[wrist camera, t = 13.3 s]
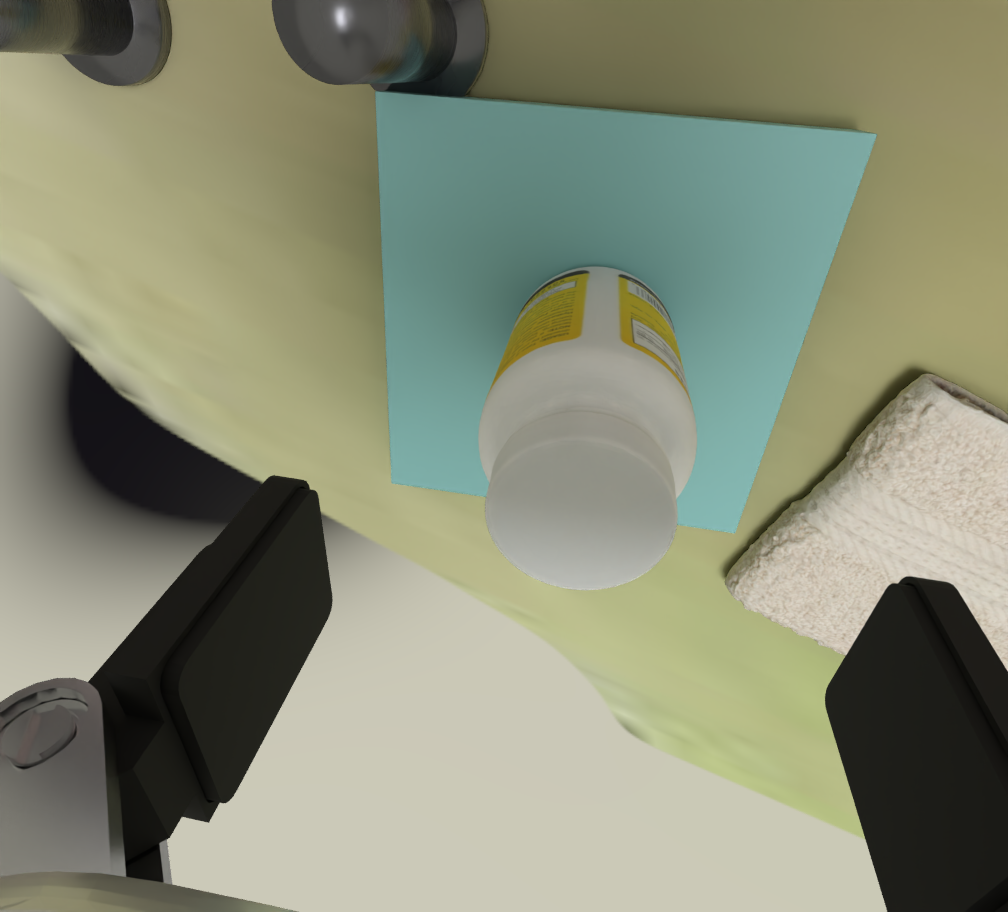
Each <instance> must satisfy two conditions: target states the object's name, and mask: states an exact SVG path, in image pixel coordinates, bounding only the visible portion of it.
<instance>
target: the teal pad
mask: <svg viewBox="0 0 1008 912" xmlns="http://www.w3.org/2000/svg"><path fill="white" fill-rule="evenodd" d="M375 96H376V120H377V144H378V169H379V193H380V217H381V241H382V265H383V289H384V313H385V337H386V361H387V385H388V409H389V433H390V457H391V481H392V483H393V484H400V485H407V486H414V487H421V488H428V489H435V490H441V491H448V492H455V493H462V494H469V495H476V496H483V497H486V495H487V491H488V487H489V481H488V479H487V477H486V475H485V472H484V470H483V467H482V464H481V460H480V453H479V442H478V434H479V423H480V419H481V415H482V410H483V407H484V404H485V401H486V398H487V395H488V393H489V391H490V388H491V385H492V383H493V381H494V378H495V375H496V372H497V370H498V368H499V365H500V362H501V360H502V358H503V355H504V352H505V350H506V347H507V344H508V341H509V338H510V335H511V332H512V330H513V327H514V324H515V321H516V319H517V317H518V315H519V313H520V311H521V309H522V307H523V306H524V304H525V303H526V301H527V300H528V299H529V297H530V296H531V295H532V294H533V293H534V292H535V291H536V290H537V289H538V288H539V287H540V286H541V285H542V284H544V283H545V282H546V281H548V280H549V279H551V278H553V277H555V276H557V275H559V274H561V273H563V272H566V271H569V270H572V269H576V268H582V267H608V268H613V269H617V270H621V271H624V272H626V273H628V274H631V275H633V276H635V277H636V278H638V279H640V280H641V281H643V282H644V283H645V284H646V285H648V286H649V287H650V288H651V289H652V290H653V291H654V292H655V293H656V294H657V296H658V297H659V298H660V299H661V301H662V302H663V304H664V306H665V308H666V310H667V312H668V314H669V316H670V318H671V321H672V324H673V327H674V331H675V336H676V340H677V344H678V348H679V352H680V356H681V361H682V365H683V369H684V374H685V378H686V382H687V386H688V391H689V395H690V399H691V403H692V407H693V411H694V416H695V421H696V431H697V449H696V457H695V462H694V466H693V469H692V472H691V475H690V477H689V479H688V482H687V484H686V485H685V487H684V489H683V491H682V492H681V493H680V495H679V496H678V497H677V499H676V501H677V513H678V520H677V525H682V526H689V527H696V528H702V529H709V530H716V531H723V532H730V533H735V532H736V529H737V526H738V523H739V521H740V518H741V515H742V512H743V509H744V507H745V504H746V501H747V498H748V495H749V492H750V490H751V487H752V484H753V481H754V478H755V476H756V473H757V470H758V467H759V464H760V462H761V459H762V456H763V453H764V450H765V448H766V445H767V442H768V439H769V436H770V434H771V431H772V428H773V425H774V422H775V420H776V417H777V414H778V411H779V408H780V406H781V403H782V400H783V397H784V394H785V392H786V389H787V386H788V383H789V380H790V378H791V375H792V372H793V369H794V366H795V364H796V361H797V358H798V355H799V352H800V349H801V347H802V344H803V341H804V338H805V335H806V333H807V330H808V327H809V324H810V321H811V319H812V316H813V313H814V310H815V307H816V305H817V302H818V299H819V296H820V293H821V291H822V288H823V285H824V282H825V279H826V277H827V274H828V271H829V268H830V265H831V263H832V260H833V257H834V254H835V251H836V249H837V246H838V243H839V240H840V237H841V235H842V232H843V229H844V226H845V223H846V221H847V218H848V215H849V212H850V209H851V206H852V204H853V201H854V198H855V195H856V192H857V190H858V187H859V184H860V181H861V178H862V176H863V173H864V170H865V167H866V164H867V162H868V159H869V156H870V153H871V150H872V148H873V145H874V142H875V139H876V136H877V134H874V133H870V132H865V131H861V130H853V129H841V128H829V127H818V126H806V125H794V124H782V123H771V122H759V121H747V120H735V119H724V118H712V117H700V116H688V115H677V114H665V113H653V112H641V111H630V110H618V109H606V108H594V107H583V106H571V105H559V104H547V103H535V102H524V101H512V100H500V99H488V98H477V97H465V96H463V97H454V96H442V95H430V94H419V93H407V92H395V91H375Z"/></svg>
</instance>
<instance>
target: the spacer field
mask: <svg viewBox="0 0 1008 912" xmlns="http://www.w3.org/2000/svg"><path fill="white" fill-rule="evenodd" d="M272 10H273V16H274V21H275V25H276V29H277V32H278V34H279V37H280V39H281V41H282V43H283V46H284V47H285V49H286V51H287V52H288V54H289V55H290V57H291V58H292V59H293V61H294V62H295V63H296V64H297V65H298V66H299V67H300V68H301V69H302V70H303V71H305V72H306V73H307V74H308V75H310V76H312V77H313V78H315V79H317V80H319V81H322V82H325V83H328V84H334V85H346V84H370V85H371V86H372V87H373V88H374V89H375V90H376V91H395V92H407V93H419V94H430V95H442V96H454V97H463V96H465V95H466V94H467V93H468V92H469V91H470V89H471V88H472V87H473V86H474V84H475V82H476V81H477V79H478V77H479V75H480V73H481V71H482V68H483V65H484V62H485V59H486V54H487V49H488V21H487V15H486V10H485V6H484V3H483V0H272ZM170 44H171V23H170V16H169V11H168V7H167V3H166V0H0V52H18V53H45V54H62V55H63V56H64V57H65V58H66V59H67V60H68V61H69V62H70V63H71V64H72V65H73V66H74V67H75V68H76V69H78V70H79V71H80V72H82V73H83V74H85V75H86V76H88V77H90V78H91V79H94V80H96V81H98V82H101V83H104V84H107V85H113V86H131V85H139V84H143V83H145V82H148V81H149V80H151V79H153V78H154V77H155V76H156V75H157V74H158V73H159V72H160V70H161V69H162V68H163V66H164V64H165V62H166V60H167V57H168V54H169V50H170Z"/></svg>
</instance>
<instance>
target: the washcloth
mask: <svg viewBox="0 0 1008 912" xmlns="http://www.w3.org/2000/svg"><path fill="white" fill-rule="evenodd" d="M846 454H847V456H846V457H845V459H844V460H843V461H841V462H840V463H839V465H838V466H837V467H836V468H835V469H834V470H832V471H831V472H830V473H829V474H828V475H827V476H826V477H825V478H824V480H823V481H821V482H819V483H818V484H817V485H816V486H815V487H814V488H813V489H812V492H810V493H809V494H808V495H807V496H805V498H804V499H801V500H796V501H794V502H792V503H791V505H790V507H789V508H788V509H787V510H785V511H784V512H782V514H781V516H780V517H779V518H778V519H777V520H776V521H775V522H774V523H773V524H771V525H770V526H768V529H767V530H766V531H765V532H764V533H763V534H761V536H760V538H758V539H757V540H756V541H755V543H754V544H751V545H750V547H749V549H748V550H747V551H746V552H744V554H743V555H742V556H741V558H740V559H738V561H737V562H736V564H735V565H733V566H732V568H731V569H730V571H729V572H728V575H727V577H726V579H725V585H726V586H727V589H728V590H729V591H730V593H731V595H732V596H733V597H734V598H735V599H736V600H738V601H741V602H742V603H743V605H744V608H745V609H747V610H752V611H754V612H759V613H761V614H762V615H763V616H764V617H766V618H768V619H770V620H771V621H773V622H776V623H778V624H780V625H781V626H783V627H789V628H791V629H792V631H796V633H797V634H798V635H801V636H807V637H810V638H813V639H814V640H815V641H817V643H818V644H819V645H821V646H825V647H829V648H831V649H833V650H834V651H836V652H838V653H839V654H843V655H845V656H846V655H847V653H848V651H849V650H850V648H851V646H852V645H853V643H854V641H855V640H856V638H857V636H858V635H859V633H860V631H861V630H862V628H863V626H864V625H865V623H866V621H867V620H868V618H869V616H870V615H871V613H872V611H873V610H874V608H875V606H876V605H877V603H878V601H879V600H880V598H881V596H882V594H883V593H884V591H885V589H886V588H887V587H888V586H889V585H890V584H892V583H897V584H898V583H899V582H900V580H901V579H902V578H904V577H906V576H913V577H919V578H925V579H932V580H938V581H944V582H949V583H951V584H953V585H954V586H955V588H956V589H957V590H958V591H959V593H960V595H961V596H962V598H963V599H964V601H965V603H966V604H967V606H968V608H969V609H970V611H971V612H972V614H973V616H974V617H975V619H976V621H977V622H978V624H979V625H980V627H981V629H982V630H983V632H984V634H985V635H986V637H987V638H988V640H989V642H990V643H991V645H992V647H993V648H994V650H995V651H996V653H997V655H998V656H999V658H1000V660H1001V661H1002V663H1003V664H1004V666H1005V668H1006V669H1007V671H1008V414H1006V413H1005V412H1004V411H1003V410H1002V409H1000V408H998V407H996V406H994V405H993V404H991V403H989V402H986V401H985V400H983V399H982V398H980V397H978V396H976V395H974V394H973V393H970V392H969V391H967V390H966V389H964V388H962V387H960V386H958V385H956V384H954V383H952V382H949V381H946V380H944V379H943V378H940V377H938V376H936V375H933V374H923V375H921V376H920V377H919V378H918V379H916V380H915V381H913V382H912V383H910V384H909V385H908V386H907V387H906V388H905V389H903V390H902V391H901V392H900V393H899V394H898V395H897V397H896V398H895V399H893V400H891V401H890V403H889V404H888V405H887V406H886V407H885V408H884V409H883V410H882V411H881V412H880V413H879V414H878V415H877V416H876V417H875V419H874V420H873V421H872V422H871V423H870V424H868V425H867V427H866V428H865V430H864V431H863V432H862V433H861V434H860V435H859V436H858V437H857V438H856V440H855V441H854V442H853V444H852V445H851V447H850V449H849V452H847V453H846Z"/></svg>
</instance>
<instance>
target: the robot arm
mask: <svg viewBox="0 0 1008 912" xmlns="http://www.w3.org/2000/svg"><path fill="white" fill-rule="evenodd" d="M331 607H332V591H331V584H330V577H329V570H328V562H327V555H326V549H325V541H324V534H323V527H322V520H321V512H320V505H319V498H318V494H317V492H316V491H314V490H310V488H309V485H308V483H307V482H306V481H304V480H300V479H294V478H287V477H281V476H275V475H273V476H270V477H269V478H268V479H267V480H266V481H265V482H264V483H263V484H262V485H261V487H260V488H259V489H258V490H257V491H256V493H255V494H254V495H253V496H252V497H251V498H250V499H249V501H248V502H247V503H246V504H245V505H244V507H243V508H242V509H241V510H240V511H239V512H238V514H237V515H236V516H235V517H234V518H233V520H232V521H231V522H230V523H229V524H228V525H227V527H226V528H225V529H224V530H223V531H222V532H221V534H220V535H219V536H218V537H217V538H216V539H215V541H214V542H213V543H212V544H210V545H208V546H206V547H205V548H204V549H203V550H202V551H201V552H199V554H198V555H197V556H196V557H195V558H194V559H193V561H192V562H191V563H190V564H189V565H188V566H187V568H186V569H185V570H184V571H183V572H182V573H181V574H180V576H179V577H178V578H177V579H176V580H175V582H174V583H173V584H172V585H171V586H170V587H169V588H168V590H167V591H166V592H165V593H164V594H163V596H162V597H161V598H160V599H159V600H158V601H157V602H156V604H155V605H154V606H153V607H152V608H151V609H150V611H149V612H148V613H147V614H146V615H145V616H144V618H143V619H142V620H141V621H140V622H139V624H138V625H137V626H136V627H135V628H134V629H133V631H132V632H131V633H130V634H129V635H128V636H127V637H126V639H125V640H124V641H123V642H122V643H121V644H120V646H119V647H118V648H117V649H116V650H115V651H114V653H113V654H112V655H111V656H110V657H109V658H108V659H107V661H106V662H105V663H104V664H103V665H102V667H101V668H100V669H99V670H98V671H97V672H96V674H95V675H94V676H93V677H92V678H91V679H90V680H89V682H86V681H83V680H79V679H76V678H56V679H51V680H48V681H44V682H39V683H36V684H33V685H31V686H29V687H26V688H24V689H22V690H19V691H17V692H15V693H14V694H13V695H11V696H9V697H8V698H6V699H5V700H3V701H2V702H0V912H297V911H293V910H288V909H283V908H280V907H275V906H271V905H266V904H262V903H256V902H252V901H247V900H243V899H238V898H233V897H228V896H223V895H219V894H214V893H209V892H204V891H200V890H195V889H190V888H185V887H181V886H176V885H172V878H171V870H170V861H169V854H168V845H167V839H168V838H170V836H171V834H172V833H173V831H174V829H175V827H176V826H177V824H178V822H179V821H180V819H181V817H186V818H191V819H195V820H200V821H204V822H209V821H210V819H211V817H212V816H213V814H214V812H215V810H216V808H217V806H218V804H219V803H227V802H228V801H229V800H230V799H231V798H232V797H233V796H234V794H235V792H236V790H237V789H238V787H239V785H240V783H241V782H242V780H243V777H244V776H245V774H246V772H247V770H248V768H249V766H250V764H251V763H252V761H253V759H254V757H255V755H256V753H257V751H258V749H259V748H260V745H261V744H262V742H263V740H264V738H265V736H266V734H267V732H268V730H269V729H270V727H271V725H272V723H273V721H274V719H275V717H276V715H277V714H278V712H279V710H280V708H281V706H282V704H283V702H284V700H285V699H286V697H287V695H288V693H289V691H290V689H291V687H292V685H293V683H294V682H295V680H296V678H297V676H298V674H299V672H300V670H301V668H302V666H303V665H304V663H305V661H306V659H307V657H308V655H309V653H310V651H311V650H312V648H313V646H314V644H315V642H316V640H317V638H318V636H319V635H320V633H321V631H322V629H323V627H324V625H325V623H326V621H327V619H328V617H329V614H330V612H331ZM825 705H826V710H827V714H828V717H829V720H830V724H831V727H832V730H833V733H834V737H835V740H836V743H837V747H838V750H839V753H840V757H841V760H842V763H843V766H844V770H845V773H846V776H847V780H848V783H849V786H850V790H851V793H852V796H853V799H854V803H855V806H856V809H857V813H858V816H859V819H860V823H861V826H862V829H863V832H864V836H865V839H866V842H867V845H868V849H869V852H870V855H871V859H872V862H873V865H874V868H875V872H876V875H877V878H878V882H879V885H880V889H881V892H882V895H883V898H884V901H885V905H886V908H887V912H1008V671H1007V669H1006V668H1005V666H1004V664H1003V663H1002V661H1001V660H1000V658H999V656H998V655H997V653H996V651H995V650H994V648H993V647H992V645H991V643H990V642H989V640H988V638H987V637H986V635H985V634H984V632H983V630H982V629H981V627H980V625H979V624H978V622H977V621H976V619H975V617H974V616H973V614H972V612H971V611H970V609H969V608H968V606H967V604H966V603H965V601H964V599H963V598H962V596H961V595H960V593H959V591H958V590H957V589H956V588H955V586H954V585H953V584H951V583H949V582H944V581H938V580H932V579H925V578H919V577H913V576H906V577H904V578H902V579H901V580H900V582H899V583H898V584H897V583H892V584H890V585H889V586H888V587H887V588H886V589H885V591H884V593H883V594H882V596H881V598H880V600H879V601H878V603H877V605H876V606H875V608H874V610H873V611H872V613H871V615H870V616H869V618H868V620H867V621H866V623H865V625H864V626H863V628H862V630H861V631H860V633H859V635H858V636H857V638H856V640H855V641H854V643H853V645H852V646H851V648H850V650H849V651H848V653H847V655H846V656H845V658H844V660H843V661H842V663H841V665H840V666H839V668H838V670H837V671H836V673H835V675H834V677H833V678H832V680H831V682H830V683H829V685H828V687H827V690H826V694H825Z"/></svg>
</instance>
